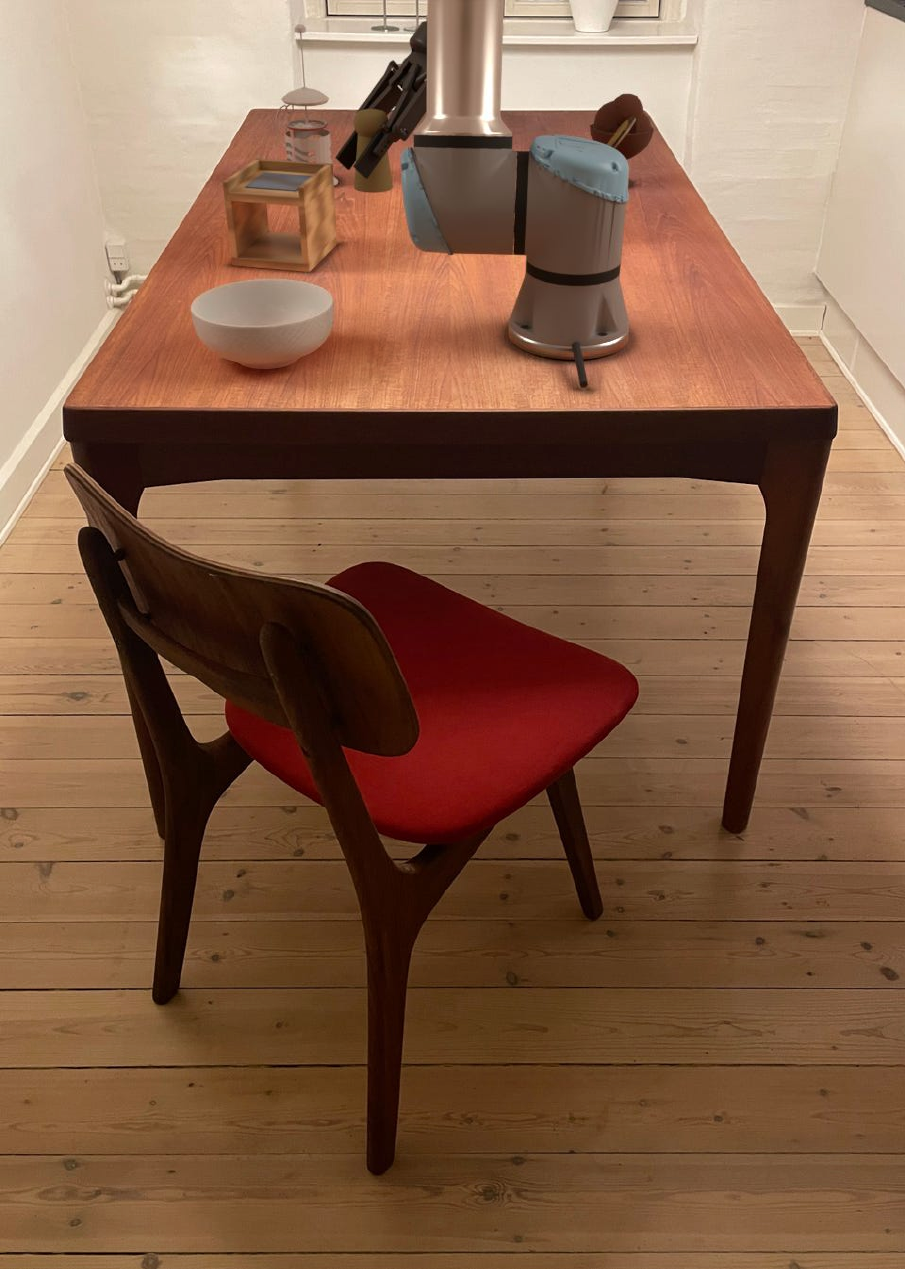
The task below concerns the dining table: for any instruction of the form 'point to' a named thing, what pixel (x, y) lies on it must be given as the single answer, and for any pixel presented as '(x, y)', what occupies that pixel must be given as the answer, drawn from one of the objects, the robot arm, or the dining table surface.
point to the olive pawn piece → (366, 128)
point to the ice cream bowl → (614, 117)
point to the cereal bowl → (264, 321)
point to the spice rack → (281, 187)
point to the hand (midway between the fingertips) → (351, 167)
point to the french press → (306, 124)
